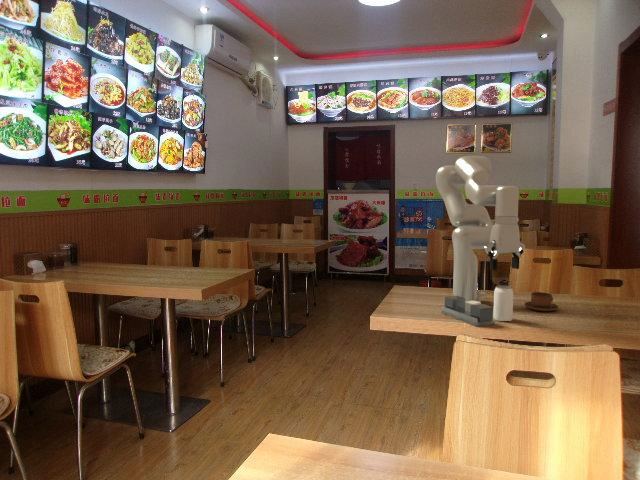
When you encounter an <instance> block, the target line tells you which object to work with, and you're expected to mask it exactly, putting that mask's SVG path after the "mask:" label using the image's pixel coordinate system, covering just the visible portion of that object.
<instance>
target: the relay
mask: <svg viewBox="0 0 640 480" xmlns="http://www.w3.org/2000/svg"><path fill="white" fill-rule="evenodd" d="M479 304H482V302H481V301H480V302H478V301H473V300H472V301H467V302H465V311H468V312H470V307H471V305H479Z"/></svg>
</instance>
